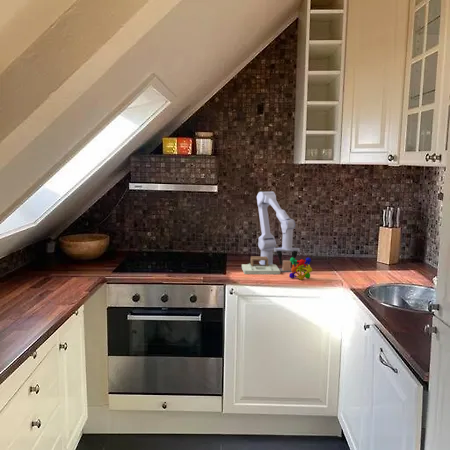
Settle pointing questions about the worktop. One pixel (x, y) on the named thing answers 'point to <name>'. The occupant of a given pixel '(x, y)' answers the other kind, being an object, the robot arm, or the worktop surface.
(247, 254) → the worktop surface
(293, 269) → the molecular model
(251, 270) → the puzzle board
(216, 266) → the worktop surface
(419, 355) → the worktop surface
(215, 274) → the worktop surface
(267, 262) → the walnut cover
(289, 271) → the slate pad
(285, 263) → the terracotta block
